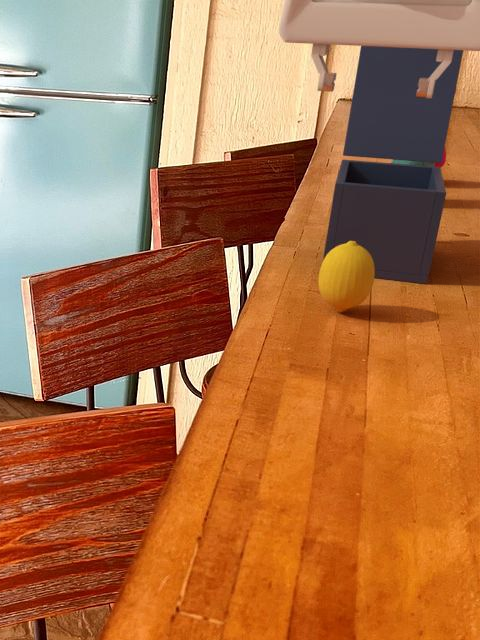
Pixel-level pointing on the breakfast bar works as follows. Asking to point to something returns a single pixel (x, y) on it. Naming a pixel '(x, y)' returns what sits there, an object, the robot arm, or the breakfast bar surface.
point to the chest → (388, 215)
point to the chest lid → (400, 105)
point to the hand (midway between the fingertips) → (373, 94)
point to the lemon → (346, 276)
